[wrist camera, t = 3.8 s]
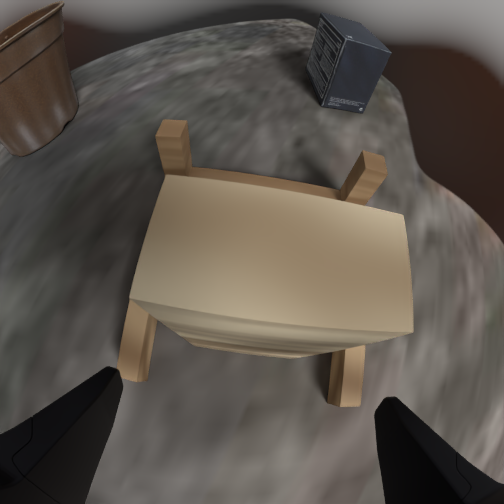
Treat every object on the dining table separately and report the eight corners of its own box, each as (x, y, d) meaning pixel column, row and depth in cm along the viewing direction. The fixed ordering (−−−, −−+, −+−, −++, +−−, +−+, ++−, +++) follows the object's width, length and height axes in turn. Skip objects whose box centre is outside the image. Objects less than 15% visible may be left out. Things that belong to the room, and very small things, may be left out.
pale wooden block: (292, 358, 19) (413, 332, 6) (194, 345, 19) (128, 298, 6) (296, 311, 20) (403, 215, 7) (202, 298, 20) (166, 174, 7)
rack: (347, 402, 18) (398, 412, 11) (126, 375, 17) (81, 375, 11) (350, 205, 25) (383, 156, 18) (174, 177, 24) (163, 119, 18)
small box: (366, 115, 31) (395, 53, 21) (320, 108, 30) (343, 38, 21) (343, 75, 35) (362, 21, 26) (304, 68, 35) (318, 11, 25)
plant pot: (-2, 194, 22) (-68, 105, 7) (-1, 132, 26) (-39, 61, 11) (104, 121, 27) (70, 5, 12) (81, 78, 31) (59, -3, 16)
